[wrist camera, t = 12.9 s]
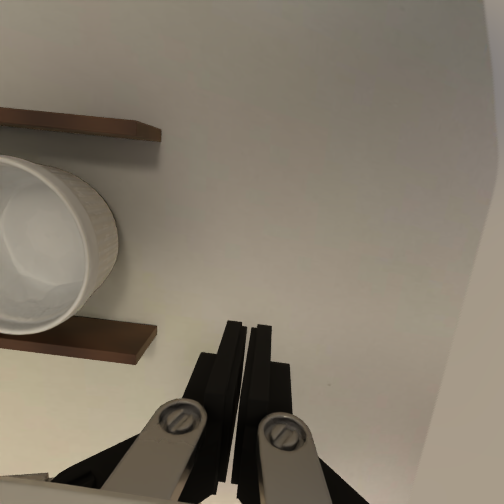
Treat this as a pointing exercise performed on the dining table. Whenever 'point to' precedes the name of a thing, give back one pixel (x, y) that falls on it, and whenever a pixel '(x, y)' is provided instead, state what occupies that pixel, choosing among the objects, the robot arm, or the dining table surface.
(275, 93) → the dining table surface
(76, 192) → the ramekin
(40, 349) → the frame
